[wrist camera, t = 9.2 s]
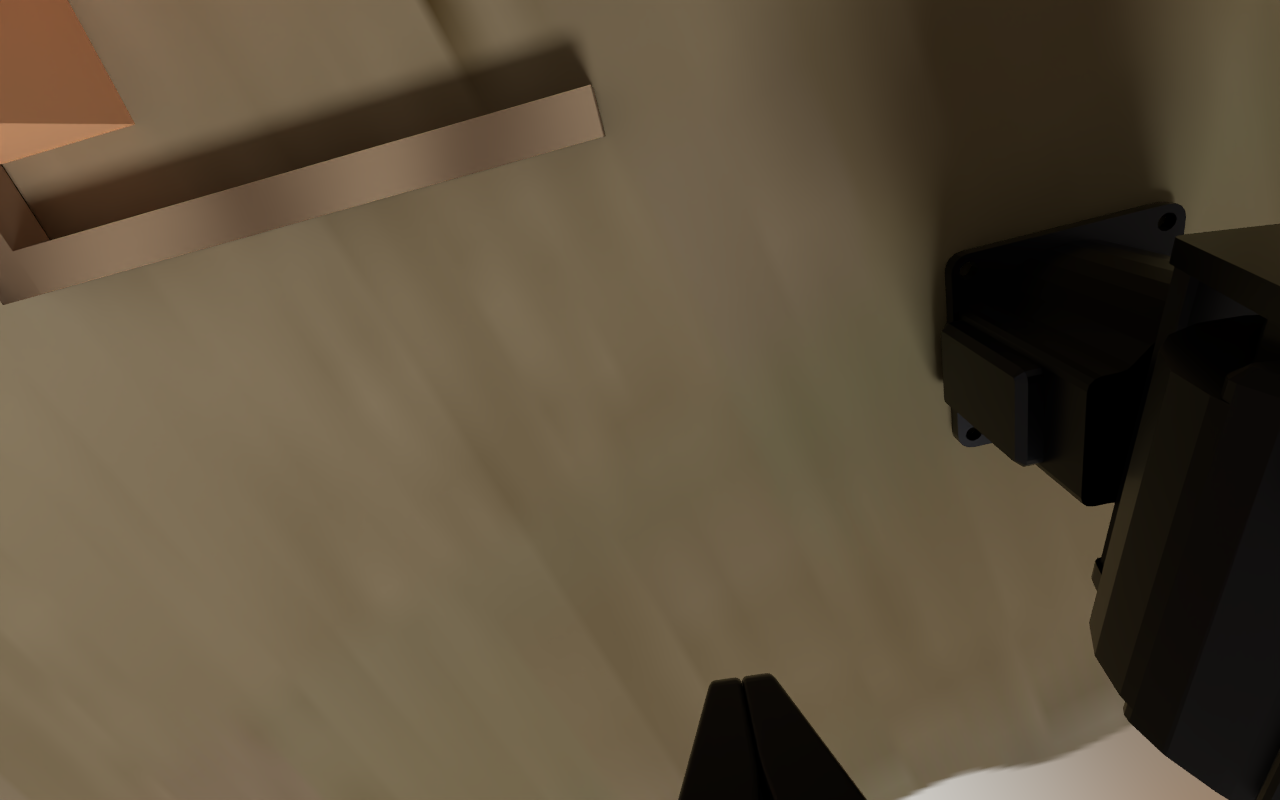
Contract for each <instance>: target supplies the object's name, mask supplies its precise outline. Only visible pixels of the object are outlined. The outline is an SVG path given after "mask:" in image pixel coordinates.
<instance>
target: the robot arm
mask: <svg viewBox="0 0 1280 800" xmlns="http://www.w3.org/2000/svg"><path fill="white" fill-rule="evenodd" d="M1164 214H1165V220H1164V223H1163V224H1162V225H1161V226H1160V227H1158V222H1159V219H1160V218H1161V217H1162V216H1163V215H1164ZM1185 220H1186V214H1185V210H1184V208H1183V207H1182V206H1181V205H1179V204H1176V203H1169V202H1157V203H1152V204H1148V205H1144V206H1140V207H1136V208H1132V209H1128V210H1124V211H1120V212H1116V213H1112V214H1108V215H1104V216H1100V217H1096V218H1092V219H1088V220H1084V221H1080V222H1076V223H1072V224H1068V225H1064V226H1060V227H1056V228H1052V229H1048V230H1044V231H1040V232H1036V233H1032V234H1028V235H1024V236H1020V237H1016V238H1012V239H1008V240H1004V241H1000V242H996V243H992V244H988V245H984V246H980V247H976V248H972V249H968V250H964V251H961V252H958V253H956V254H954V255H953V256H952V257H951V258H950V259H949V261H948V262H947V264H946V268H945V286H946V307H947V323H946V325H945V326H944V328H943V330H942V331H941V345H942V364H943V383H944V400H945V402H946V403H947V404H948V405H949V406H950V407H951V412H952V432H953V435H954V437H955V438H956V439H957V440H958V441H959V442H960V443H961V444H962V445H963V446H966V447H976V446H980V445H985V444H989V443H993V444H994V445H995V446H996V447H998V448H999V449H1000V450H1001V451H1002V452H1003V453H1005V454H1006V455H1007V456H1008V457H1009V458H1010V459H1011V460H1013V461H1014V462H1016V463H1018V464H1019V465H1021V466H1023V467H1025V466H1030V465H1034V464H1036V465H1037V466H1038V467H1039V468H1040V469H1042V470H1043V471H1044V472H1045V473H1046V474H1048V475H1049V476H1050V477H1051V478H1052V479H1054V480H1055V481H1056V482H1057V483H1058V484H1060V485H1061V486H1062V487H1063V488H1065V489H1066V490H1067V491H1068V492H1069V493H1071V494H1072V495H1073V496H1074V497H1075V498H1077V499H1078V500H1079V501H1080V502H1081V503H1083V504H1084V505H1086V506H1098V505H1102V504H1107V503H1115V505H1114V509H1113V513H1112V517H1111V521H1110V525H1109V529H1108V533H1107V537H1106V541H1105V545H1104V549H1103V553H1102V557H1101V558H1097V559H1096V560H1095V564H1094V568H1093V573H1092V581H1093V583H1094V586H1095V588H1096V590H1097V594H1096V598H1095V602H1094V606H1093V610H1092V614H1091V618H1090V622H1089V624H1090V630H1091V636H1092V642H1093V648H1094V654H1095V657H1096V658H1097V660H1098V661H1099V663H1100V665H1101V666H1102V668H1103V669H1104V671H1105V673H1106V674H1107V676H1108V677H1109V679H1110V681H1111V682H1112V684H1113V685H1114V687H1115V689H1116V690H1117V692H1118V693H1119V695H1120V696H1121V697H1122V698H1123V700H1124V701H1125V704H1124V707H1123V710H1124V715H1125V717H1126V718H1127V720H1128V721H1129V722H1130V723H1131V724H1132V725H1133V726H1134V727H1135V728H1136V729H1137V730H1139V732H1140V733H1141V734H1142V735H1144V736H1145V737H1146V738H1147V739H1148V740H1149V741H1150V742H1151V743H1152V744H1153V745H1154V746H1155V747H1156V748H1157V749H1158V750H1160V751H1161V752H1162V753H1163V754H1164V755H1165V756H1166V757H1168V758H1169V759H1171V760H1172V761H1174V762H1175V763H1176V764H1178V765H1179V766H1180V767H1182V768H1183V769H1185V770H1186V771H1188V772H1189V773H1190V774H1192V775H1193V776H1195V777H1196V778H1197V779H1199V780H1200V781H1202V782H1203V783H1204V784H1206V785H1207V786H1209V787H1210V788H1211V789H1213V790H1214V791H1215V792H1217V793H1219V794H1220V795H1222V796H1224V797H1225V798H1227V799H1228V800H1280V224H1274V225H1265V226H1256V227H1247V228H1238V229H1229V230H1220V231H1212V232H1203V233H1194V234H1185V235H1184V229H1185ZM967 262H970V264H971V267H970V270H969V272H968V273H967V274H966V275H964V276H961V275H960V270H961V267H962V266H963V265H964V264H965V263H967ZM972 427H975V430H974V431H973V432H972V433H971V434H969V435H966V433H967V431H968V430H969V429H970V428H972ZM678 800H867V799H866V798H865V797H864V795H863V794H862V793H861V791H860V790H859V789H858V787H857V786H856V785H855V783H854V782H853V781H852V779H851V778H850V777H849V775H848V774H847V773H846V771H845V770H844V769H843V767H842V766H841V765H840V763H839V762H838V761H837V759H836V758H835V757H834V755H833V754H832V753H831V751H830V750H829V749H828V747H827V746H826V745H825V743H824V742H823V741H822V739H821V738H820V737H819V735H818V734H817V733H816V731H815V730H814V729H813V727H812V726H811V725H810V723H809V722H808V721H807V719H806V718H805V717H804V715H803V714H802V713H801V711H800V710H799V709H798V707H797V706H796V705H795V703H794V702H793V701H792V699H791V698H790V697H789V695H788V694H787V693H786V691H785V690H784V689H783V687H782V686H781V685H780V684H779V682H778V681H777V680H776V678H775V677H774V676H773V675H771V674H768V673H765V674H758V675H751V676H746V677H744V678H743V680H742V683H741V681H740V679H738V678H729V679H722V680H715V681H713V682H711V684H710V686H709V688H708V692H707V695H706V699H705V703H704V707H703V710H702V714H701V718H700V721H699V725H698V729H697V732H696V736H695V740H694V743H693V747H692V751H691V755H690V758H689V762H688V766H687V769H686V773H685V777H684V780H683V784H682V788H681V791H680V795H679V799H678Z"/></svg>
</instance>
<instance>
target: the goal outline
mask: <svg viewBox="0 0 1280 800" xmlns="http://www.w3.org/2000/svg"><path fill="white" fill-rule="evenodd" d="M604 136H605V132H604V128H603V124H602V120H601V116H600V113H599V109H598V105H597V101H596V97H595V93H594V89H593V87H592V86H591V85H587V86H584V87H580V88H577V89H573V90H570V91H566V92H563V93H559V94H556V95H552V96H549V97H545V98H542V99H539V100H535V101H532V102H528V103H525V104H521V105H518V106H514V107H511V108H507V109H504V110H500V111H497V112H494V113H490V114H487V115H483V116H480V117H476V118H473V119H469V120H466V121H462V122H459V123H455V124H452V125H448V126H445V127H442V128H438V129H435V130H431V131H428V132H424V133H421V134H417V135H414V136H410V137H407V138H403V139H400V140H397V141H393V142H390V143H386V144H383V145H379V146H376V147H372V148H369V149H365V150H362V151H358V152H355V153H352V154H348V155H345V156H341V157H338V158H334V159H331V160H327V161H324V162H320V163H317V164H313V165H310V166H307V167H303V168H300V169H296V170H293V171H289V172H286V173H282V174H279V175H275V176H272V177H268V178H265V179H262V180H258V181H255V182H251V183H248V184H244V185H241V186H237V187H234V188H230V189H227V190H223V191H220V192H216V193H213V194H210V195H206V196H203V197H199V198H196V199H192V200H189V201H185V202H182V203H178V204H175V205H171V206H168V207H165V208H161V209H158V210H154V211H151V212H147V213H144V214H140V215H137V216H133V217H130V218H126V219H123V220H120V221H116V222H113V223H109V224H106V225H102V226H99V227H95V228H92V229H88V230H85V231H81V232H78V233H75V234H71V235H68V236H64V237H61V238H57V239H54V240H49V238H48V237H47V235H46V234H45V232H44V231H43V229H42V228H41V226H40V224H39V223H38V221H37V220H36V218H35V217H34V215H33V214H32V212H31V210H30V209H29V207H28V206H27V204H26V203H25V201H24V200H23V198H22V197H21V195H20V193H19V192H18V190H17V189H16V187H15V186H14V184H13V183H12V181H11V179H10V178H9V176H8V175H7V173H6V172H5V170H4V169H3V167H2V166H1V164H0V301H1V303H2V304H3V305H5V304H9V303H12V302H16V301H19V300H23V299H27V298H30V297H34V296H37V295H41V294H44V293H48V292H52V291H55V290H59V289H62V288H66V287H69V286H73V285H77V284H80V283H84V282H87V281H91V280H94V279H98V278H102V277H105V276H109V275H112V274H116V273H119V272H123V271H126V270H130V269H134V268H137V267H141V266H144V265H148V264H151V263H155V262H159V261H162V260H166V259H169V258H173V257H176V256H180V255H184V254H187V253H191V252H194V251H198V250H201V249H205V248H209V247H212V246H216V245H219V244H223V243H226V242H230V241H234V240H237V239H241V238H244V237H248V236H251V235H255V234H258V233H262V232H266V231H269V230H273V229H276V228H280V227H283V226H287V225H291V224H294V223H298V222H301V221H305V220H308V219H312V218H316V217H319V216H323V215H326V214H330V213H333V212H337V211H341V210H344V209H348V208H351V207H355V206H358V205H362V204H366V203H369V202H373V201H376V200H380V199H383V198H387V197H391V196H394V195H398V194H401V193H405V192H408V191H412V190H415V189H419V188H423V187H426V186H430V185H433V184H437V183H440V182H444V181H448V180H451V179H455V178H458V177H462V176H465V175H469V174H473V173H476V172H480V171H483V170H487V169H490V168H494V167H498V166H501V165H505V164H508V163H512V162H515V161H519V160H523V159H526V158H530V157H533V156H537V155H540V154H544V153H547V152H551V151H555V150H558V149H562V148H565V147H569V146H572V145H576V144H580V143H583V142H587V141H590V140H594V139H597V138H601V137H604Z"/></svg>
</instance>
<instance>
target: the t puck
mask: <svg viewBox="0 0 1280 800" xmlns="http://www.w3.org/2000/svg"><path fill="white" fill-rule="evenodd" d="M134 124H135V123H134V122H133V120H132V118H131V116H130V114H129V112H128V110H127V109H126V107H125V105H124V103H123V101H122V99H121V98H120V96H119V94H118V92H117V90H116V88H115V87H114V85H113V83H112V81H111V79H110V77H109V76H108V74H107V72H106V70H105V68H104V66H103V64H102V63H101V61H100V59H99V57H98V55H97V53H96V52H95V50H94V48H93V46H92V44H91V42H90V41H89V39H88V37H87V35H86V33H85V31H84V29H83V28H82V26H81V24H80V22H79V20H78V18H77V17H76V15H75V13H74V11H73V9H72V7H71V6H70V4H69V2H68V0H0V164H4V163H8V162H11V161H14V160H18V159H21V158H24V157H28V156H31V155H34V154H38V153H41V152H44V151H48V150H51V149H54V148H58V147H61V146H64V145H68V144H71V143H74V142H78V141H81V140H84V139H88V138H91V137H94V136H98V135H101V134H104V133H108V132H111V131H114V130H118V129H121V128H124V127H128V126H131V125H134Z"/></svg>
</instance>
